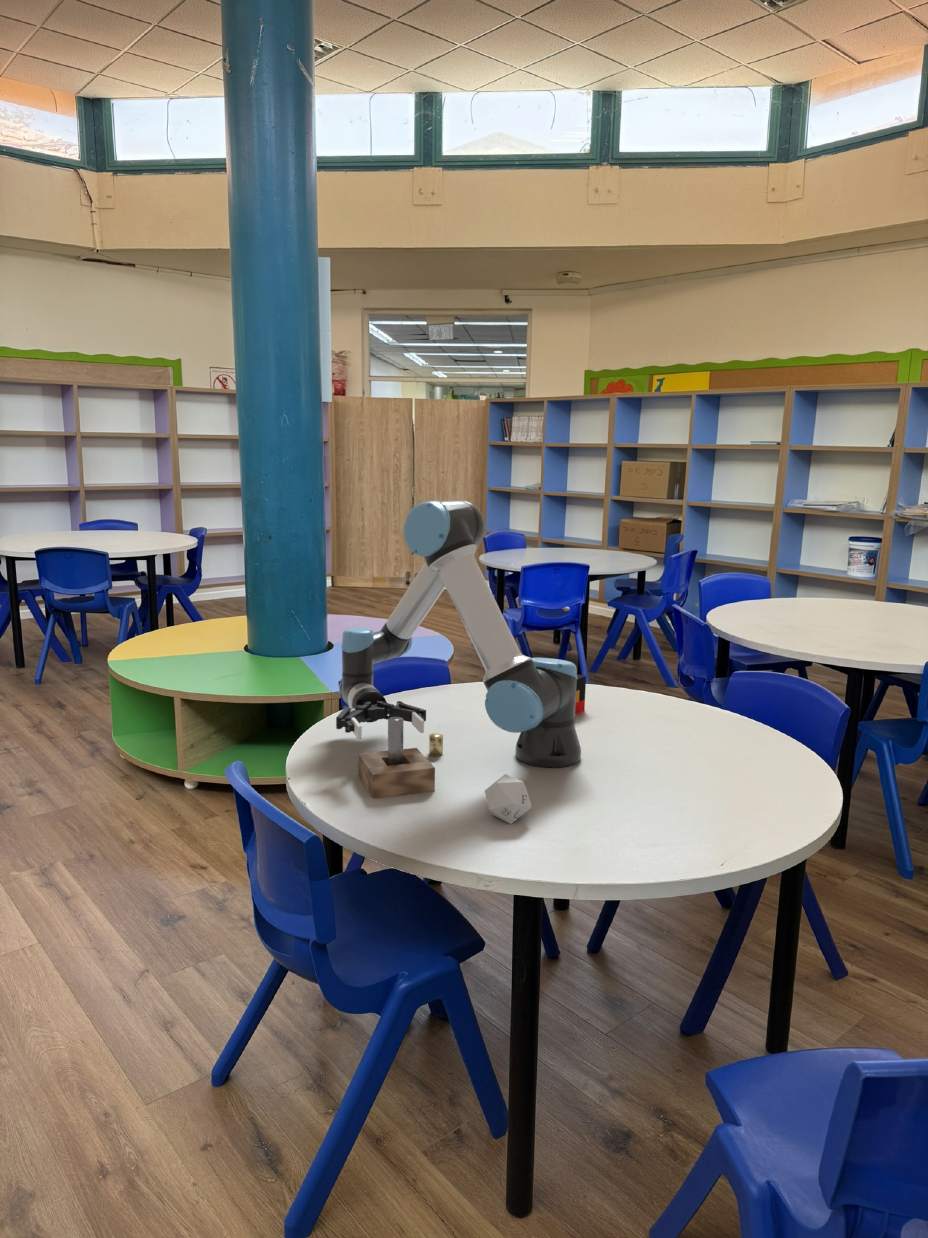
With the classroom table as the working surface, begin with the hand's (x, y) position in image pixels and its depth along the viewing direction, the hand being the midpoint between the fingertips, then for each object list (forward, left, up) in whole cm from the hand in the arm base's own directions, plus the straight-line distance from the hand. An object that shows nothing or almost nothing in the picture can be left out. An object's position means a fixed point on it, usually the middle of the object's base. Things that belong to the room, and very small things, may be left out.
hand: (391, 729), depth 172 cm
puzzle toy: (-5, -68, -11) cm, 69 cm away
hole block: (-2, +1, -11) cm, 11 cm away
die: (-30, +2, -11) cm, 32 cm away
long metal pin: (-2, +1, -11) cm, 11 cm away
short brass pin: (+2, -19, -11) cm, 22 cm away
